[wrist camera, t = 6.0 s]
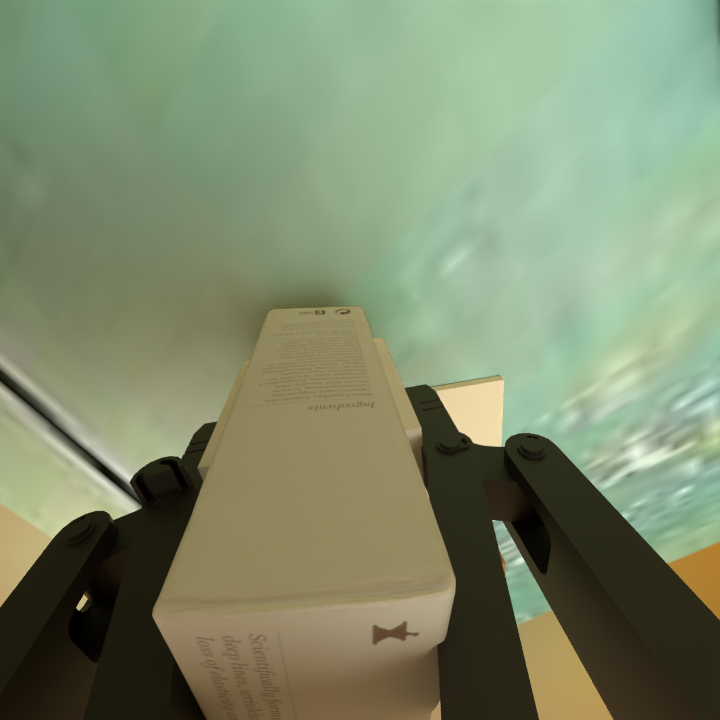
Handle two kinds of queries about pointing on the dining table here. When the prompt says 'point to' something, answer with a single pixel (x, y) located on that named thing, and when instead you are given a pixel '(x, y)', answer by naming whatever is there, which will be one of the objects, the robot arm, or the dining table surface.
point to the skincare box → (311, 542)
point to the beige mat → (476, 408)
